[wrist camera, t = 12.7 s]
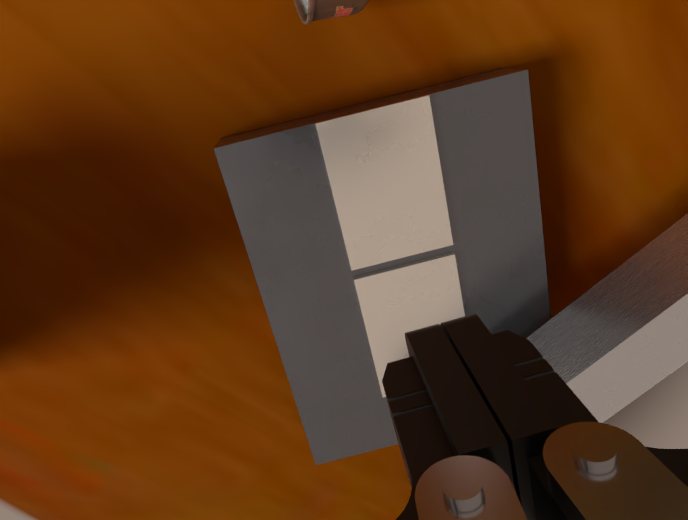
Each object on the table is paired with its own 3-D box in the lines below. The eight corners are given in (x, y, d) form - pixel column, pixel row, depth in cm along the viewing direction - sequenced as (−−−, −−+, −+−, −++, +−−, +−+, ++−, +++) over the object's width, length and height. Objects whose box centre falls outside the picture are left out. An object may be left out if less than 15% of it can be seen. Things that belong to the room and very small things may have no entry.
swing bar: (479, 433, 28) (510, 493, 25) (444, 397, 27) (470, 454, 23) (797, 194, 25) (890, 220, 21) (770, 144, 24) (864, 161, 20)
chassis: (221, 138, 26) (188, 181, 17) (501, 67, 26) (612, 74, 17) (314, 432, 32) (324, 571, 24) (535, 375, 32) (627, 492, 24)
